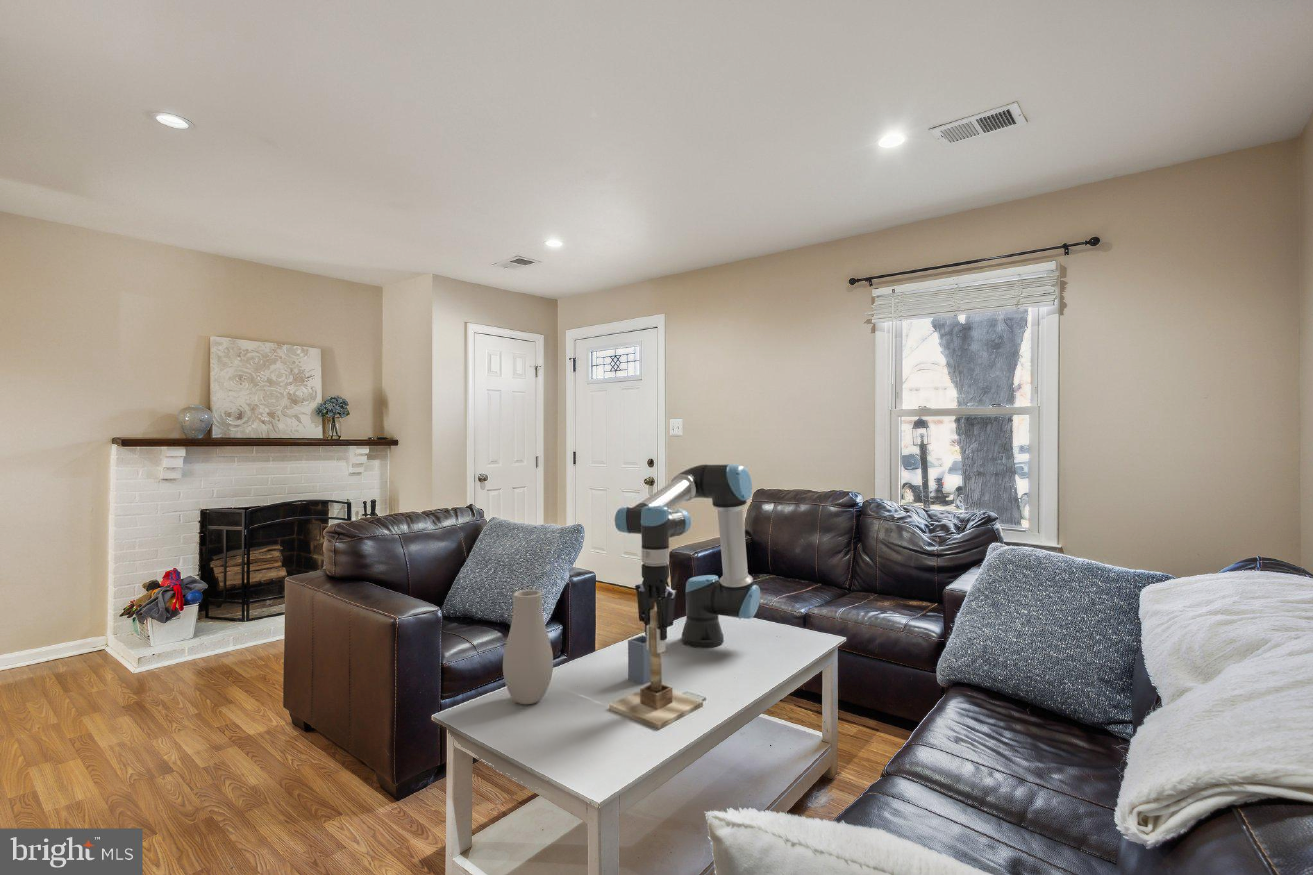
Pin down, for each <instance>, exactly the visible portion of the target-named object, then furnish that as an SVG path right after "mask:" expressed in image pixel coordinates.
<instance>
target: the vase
mask: <svg viewBox="0 0 1313 875" xmlns="http://www.w3.org/2000/svg"><path fill="white" fill-rule="evenodd" d="M512 601H513V602H512V603H513V612H512V620H511V625H510V628H509V633H508V636H507V639H506V643H505V648H504V651H503V657H502V672H503V673H502V674H503V679H504V684H505V686H506V689H507V691H508V693H509V695H510V697H511V698H512V699H513V701H514V702H516V703H517V704H520V705H532V704H536V703H538V702H540V700H542V699H543V698H544V696H545V694H546V693H547V691H548V689H549V686H550V683H551V679H552V676H553V671H554V654H553V649H552V644H551V641H550V637H549V634H548V633H549V632H548V630H547V627H546V624H545V619H544V614H543V592H542V590H538V589H525V590H524V589H523V590H518V591H516V592H513V594H512Z"/></svg>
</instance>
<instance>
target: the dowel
mask: <svg viewBox="0 0 1313 875" xmlns="http://www.w3.org/2000/svg"><path fill="white" fill-rule="evenodd" d="M657 627H659V624H658V615H657V608H654V609H651V610H650V670H651V682H650V684H651V692H654V693H659V692H661V691H662V683H663V682H662V680H663V679H662V676H663V674H662V670H663V669H662V663H663V662H662V652H661V653H657V629H656V628H657Z"/></svg>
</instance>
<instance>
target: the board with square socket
mask: <svg viewBox="0 0 1313 875" xmlns="http://www.w3.org/2000/svg"><path fill="white" fill-rule="evenodd" d="M703 706H704V701H700V700H697V699H694V698H691V697H689V696H686V695H683V694H682V693H680V692H678V691H673V687H672V686H668V685H666V684H662V691H661V692H659V693H654V692H651V683H650V684H648V685H644V686H643V687H641V688H639V690H638V691H636V692H634V693H632V694H629V695H627V696H625V697H622V698H621V699H619V700H617V701H614V702H612V703H609V705H608V709H609V710H611V711H614V712H616V713H618V714H620V715H623V716H624V717H625V716H626V717H628V718H630V719H633V720H635V721H638V722H640V723H643V724H645V725H648V726H650V727H652V728H655V729H657V730H662V729H663V728H665V727H667V726H668V725H670V724H673V723H675V722H676V721H678V720H679V719H681V718H683V717H686V716H687V715H689V714H691V713H693V712H694V711H696V710H698V709H700V708H701V707H703Z"/></svg>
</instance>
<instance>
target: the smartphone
mask: <svg viewBox="0 0 1313 875" xmlns="http://www.w3.org/2000/svg"><path fill="white" fill-rule="evenodd" d="M681 694H683V695H686V696H689V697H691V698H694V699H697V700H700V701H703V702H705V701H706V700H707V698H706V696H702V695H699V694H696V693H692V692H689V691H684V692H682V693H681Z"/></svg>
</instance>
